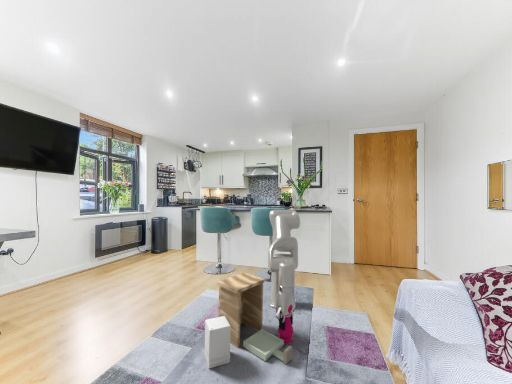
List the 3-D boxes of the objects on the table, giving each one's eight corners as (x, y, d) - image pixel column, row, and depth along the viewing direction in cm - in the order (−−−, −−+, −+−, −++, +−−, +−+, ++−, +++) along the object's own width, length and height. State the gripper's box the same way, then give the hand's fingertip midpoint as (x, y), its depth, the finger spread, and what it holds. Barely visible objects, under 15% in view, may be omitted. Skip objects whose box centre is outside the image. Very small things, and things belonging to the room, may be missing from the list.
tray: (261, 333, 111) (262, 323, 111) (297, 353, 98) (297, 342, 98) (243, 346, 101) (243, 335, 101) (279, 370, 88) (279, 357, 88)
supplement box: (230, 363, 92) (231, 326, 92) (208, 369, 88) (209, 330, 88) (224, 349, 100) (225, 315, 100) (204, 354, 96) (204, 319, 97)
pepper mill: (282, 346, 102) (283, 302, 103) (275, 337, 109) (276, 295, 109) (296, 342, 105) (297, 299, 106) (288, 333, 112) (288, 293, 112)
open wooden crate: (244, 320, 124) (245, 272, 124) (263, 330, 114) (264, 279, 115) (216, 335, 109) (217, 281, 110) (236, 349, 100) (237, 290, 101)
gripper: (289, 281, 116) (289, 316, 116) (269, 291, 104) (268, 331, 103) (302, 285, 111) (302, 322, 111) (282, 296, 99) (281, 338, 98)
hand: (285, 326), depth 107 cm, fingers closed on pepper mill, 5 cm apart
